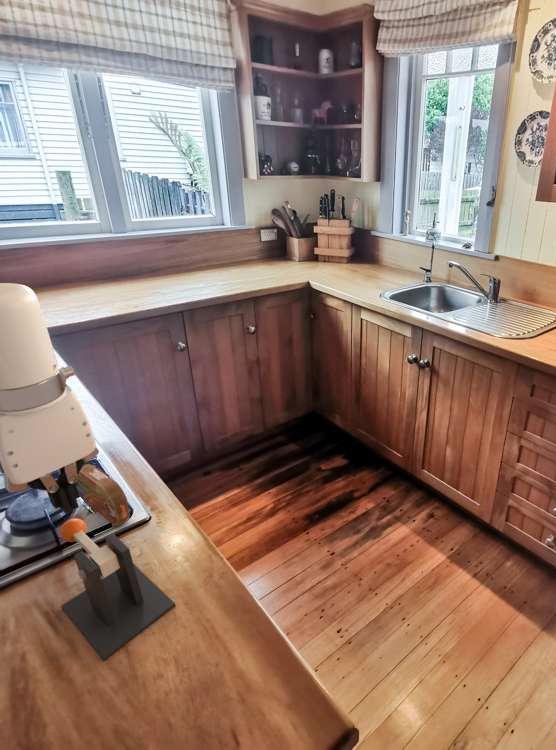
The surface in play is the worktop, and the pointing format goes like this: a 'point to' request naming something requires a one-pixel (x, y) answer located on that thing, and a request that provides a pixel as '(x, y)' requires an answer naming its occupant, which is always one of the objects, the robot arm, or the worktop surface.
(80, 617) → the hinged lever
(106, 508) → the mottled brown oval slab
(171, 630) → the worktop surface
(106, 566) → the lever with orange knob
